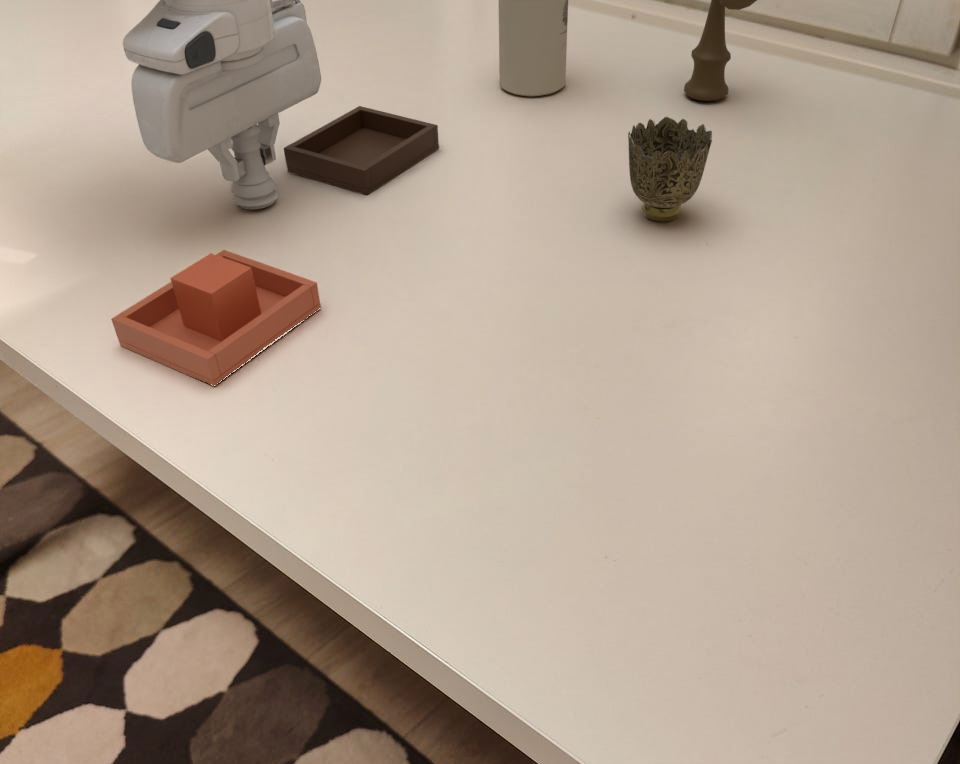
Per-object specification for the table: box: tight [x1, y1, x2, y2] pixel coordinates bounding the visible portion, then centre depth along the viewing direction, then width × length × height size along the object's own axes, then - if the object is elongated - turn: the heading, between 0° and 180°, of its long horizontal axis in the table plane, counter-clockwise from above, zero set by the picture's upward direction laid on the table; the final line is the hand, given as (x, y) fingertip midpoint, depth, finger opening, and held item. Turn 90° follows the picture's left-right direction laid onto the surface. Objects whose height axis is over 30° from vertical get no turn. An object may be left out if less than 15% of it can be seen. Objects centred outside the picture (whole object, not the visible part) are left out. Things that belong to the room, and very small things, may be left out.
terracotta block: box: [170, 253, 261, 341], centre depth 76 cm, size 4×4×4 cm
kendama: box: [683, 0, 758, 102], centre depth 104 cm, size 6×10×20 cm, turn 18°
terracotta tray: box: [110, 249, 322, 387], centre depth 77 cm, size 13×11×3 cm
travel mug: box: [498, 0, 569, 98], centre depth 108 cm, size 8×8×18 cm
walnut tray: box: [283, 105, 440, 196], centre depth 100 cm, size 13×11×3 cm
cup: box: [627, 116, 713, 223], centre depth 87 cm, size 8×7×8 cm
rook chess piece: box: [230, 124, 279, 210], centre depth 91 cm, size 4×4×8 cm
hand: (250, 170), depth 92 cm, fingers closed on rook chess piece, 3 cm apart
